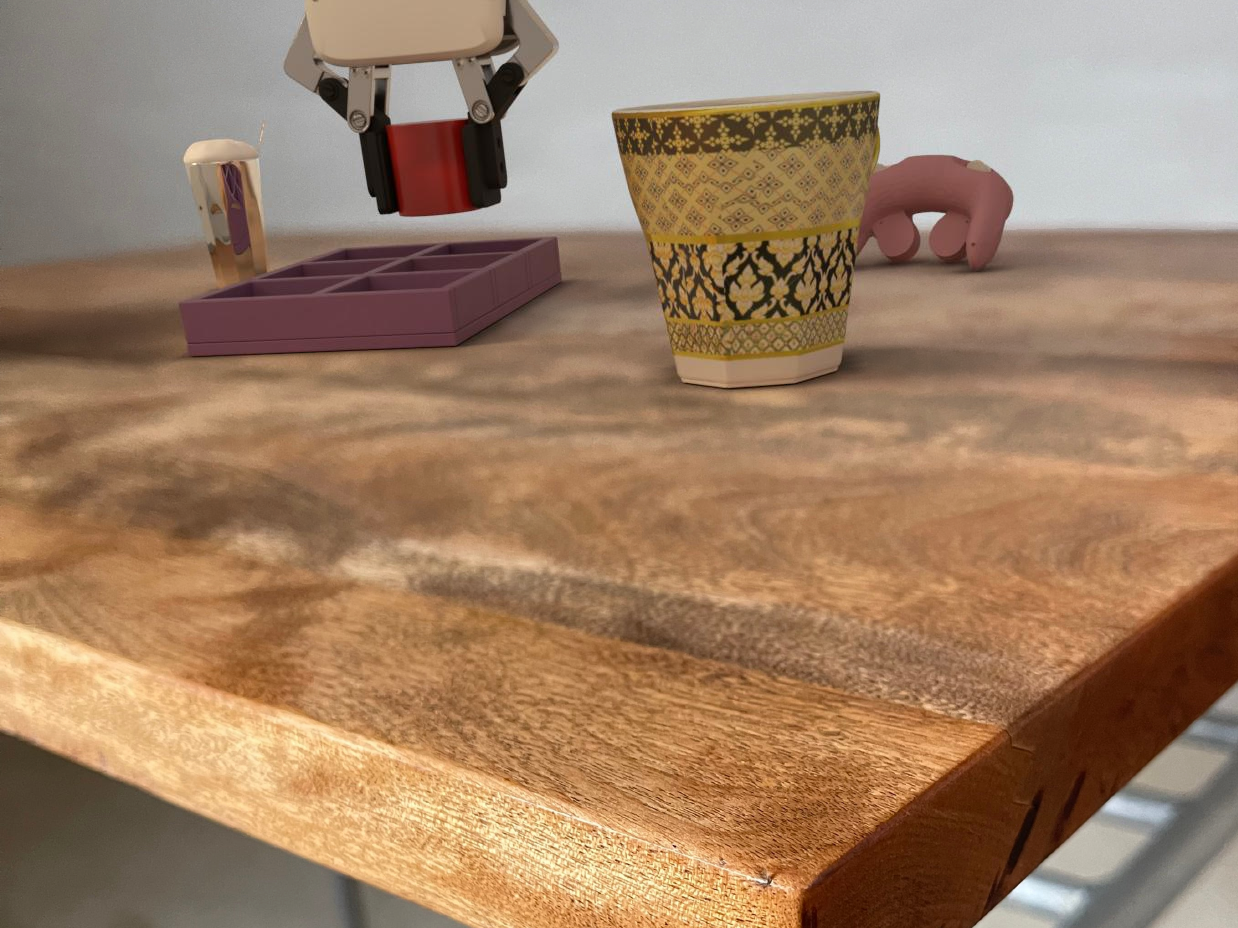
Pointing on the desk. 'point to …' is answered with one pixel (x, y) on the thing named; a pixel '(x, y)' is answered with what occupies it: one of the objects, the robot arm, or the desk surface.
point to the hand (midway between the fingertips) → (440, 204)
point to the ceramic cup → (752, 227)
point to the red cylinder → (429, 167)
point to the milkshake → (229, 206)
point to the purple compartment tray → (373, 298)
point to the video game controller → (937, 208)
